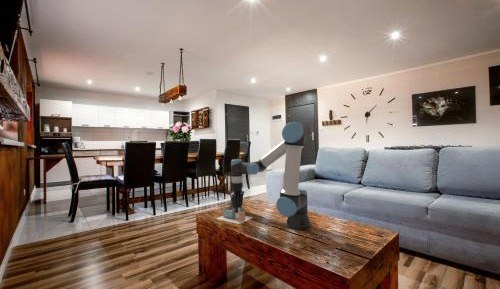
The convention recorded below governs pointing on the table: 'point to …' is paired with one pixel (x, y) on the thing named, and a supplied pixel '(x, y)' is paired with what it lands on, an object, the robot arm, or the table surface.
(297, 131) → the robot arm
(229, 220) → the card
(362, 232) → the table surface
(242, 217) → the fence panel
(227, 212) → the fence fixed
